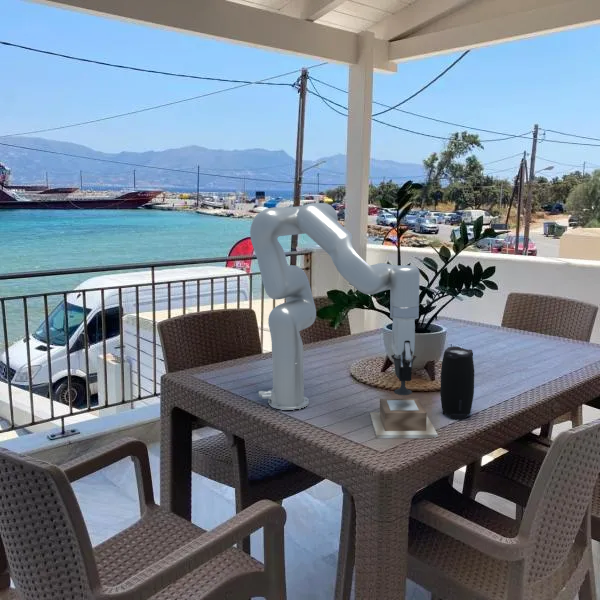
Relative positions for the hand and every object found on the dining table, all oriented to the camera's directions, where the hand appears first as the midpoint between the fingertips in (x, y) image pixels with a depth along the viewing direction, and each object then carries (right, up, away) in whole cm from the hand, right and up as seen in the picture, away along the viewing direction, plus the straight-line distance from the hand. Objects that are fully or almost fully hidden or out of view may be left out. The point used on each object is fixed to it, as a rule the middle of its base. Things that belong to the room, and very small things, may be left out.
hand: (403, 376), depth 155 cm
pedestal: (0, -14, +3) cm, 14 cm away
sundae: (0, -5, +1) cm, 5 cm away
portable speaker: (+17, -13, +10) cm, 24 cm away
